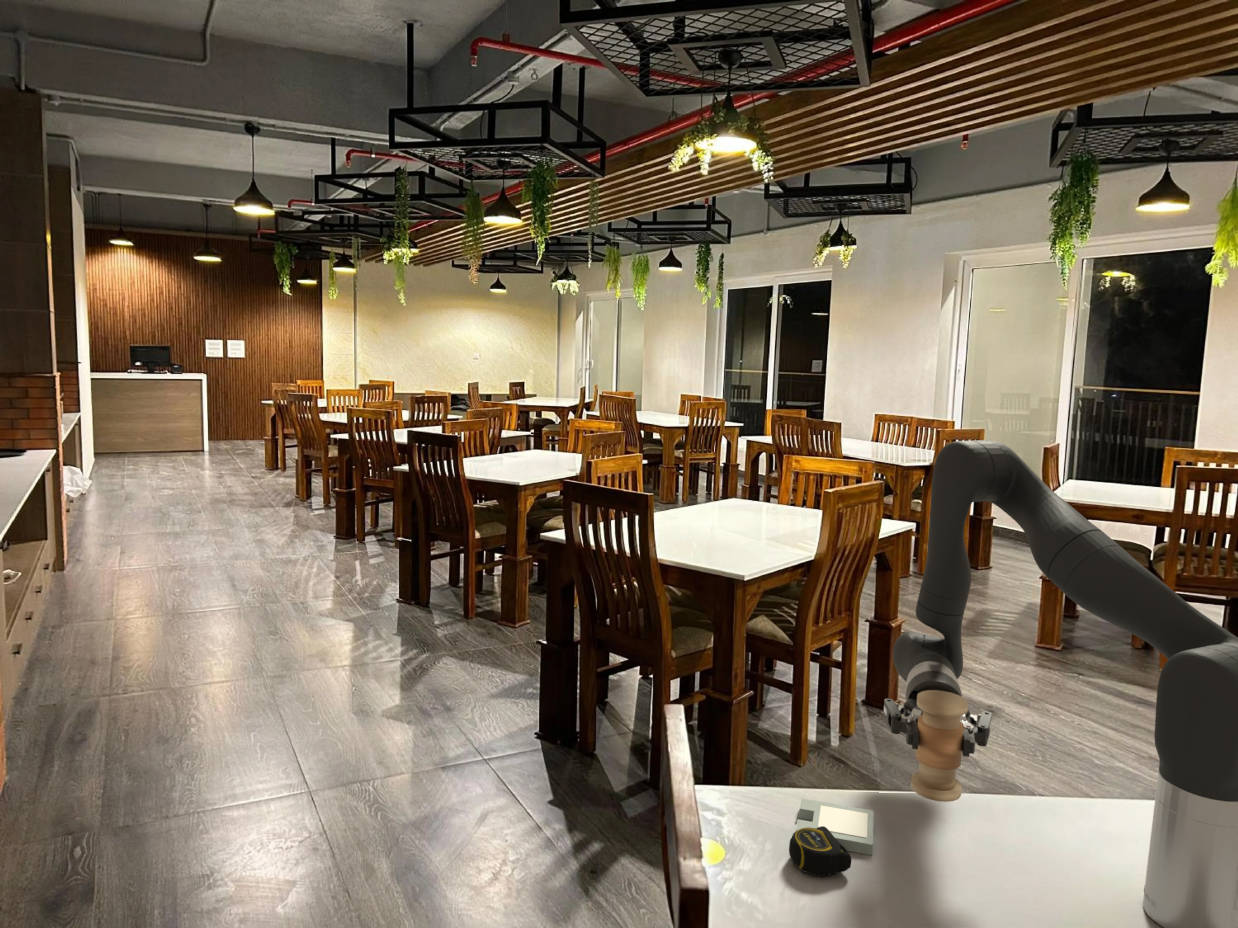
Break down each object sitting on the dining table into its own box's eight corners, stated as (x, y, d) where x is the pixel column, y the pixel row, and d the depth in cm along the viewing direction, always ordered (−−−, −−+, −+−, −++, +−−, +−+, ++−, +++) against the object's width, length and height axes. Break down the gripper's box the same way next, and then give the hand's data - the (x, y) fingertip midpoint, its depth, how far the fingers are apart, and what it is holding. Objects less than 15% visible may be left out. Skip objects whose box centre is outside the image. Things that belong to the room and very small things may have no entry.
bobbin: (959, 782, 113) (965, 693, 111) (963, 804, 107) (970, 711, 105) (910, 774, 114) (916, 687, 113) (911, 796, 109) (918, 705, 107)
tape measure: (852, 878, 109) (854, 850, 109) (802, 884, 108) (804, 856, 107) (827, 848, 116) (829, 821, 115) (779, 853, 114) (781, 826, 114)
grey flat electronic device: (872, 820, 123) (873, 809, 122) (872, 855, 114) (873, 843, 114) (801, 807, 126) (801, 797, 125) (795, 840, 117) (795, 829, 117)
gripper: (882, 663, 125) (882, 708, 109) (990, 676, 121) (1006, 725, 105) (879, 713, 126) (878, 765, 110) (986, 727, 122) (1001, 783, 106)
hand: (941, 745), depth 107 cm, fingers closed on bobbin, 5 cm apart
